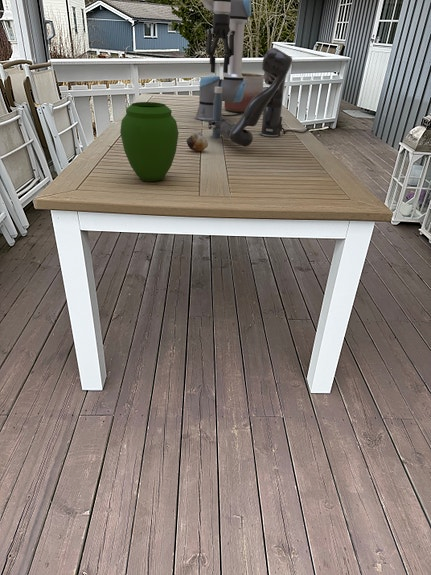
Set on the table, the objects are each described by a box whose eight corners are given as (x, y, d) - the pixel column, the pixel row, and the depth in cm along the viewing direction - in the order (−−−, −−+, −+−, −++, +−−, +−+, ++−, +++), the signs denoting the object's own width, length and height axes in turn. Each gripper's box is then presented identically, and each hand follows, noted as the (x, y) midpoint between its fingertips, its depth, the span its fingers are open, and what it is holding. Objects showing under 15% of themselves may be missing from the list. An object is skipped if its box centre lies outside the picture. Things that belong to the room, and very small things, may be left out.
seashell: (207, 149, 185) (207, 131, 181) (208, 152, 180) (209, 134, 176) (186, 149, 184) (186, 130, 179) (187, 152, 179) (187, 133, 175)
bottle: (212, 137, 207) (214, 88, 195) (212, 136, 210) (214, 87, 198) (220, 138, 207) (222, 88, 195) (220, 136, 210) (222, 87, 198)
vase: (131, 189, 135) (125, 110, 122) (118, 172, 150) (112, 100, 137) (186, 184, 142) (187, 109, 129) (169, 168, 157) (167, 99, 144)
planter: (265, 114, 273) (268, 77, 261) (227, 113, 269) (230, 75, 257) (255, 107, 294) (258, 73, 282) (221, 107, 290) (222, 72, 278)
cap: (214, 92, 196) (214, 87, 195) (214, 92, 199) (214, 86, 198) (222, 93, 196) (222, 87, 195) (222, 92, 199) (222, 86, 198)
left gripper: (236, 15, 187) (232, 71, 199) (198, 12, 179) (197, 71, 192) (244, 15, 182) (240, 73, 194) (206, 12, 174) (204, 73, 186)
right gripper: (241, 120, 194) (228, 113, 207) (213, 120, 189) (201, 114, 203) (240, 136, 198) (227, 129, 211) (212, 137, 193) (201, 130, 207)
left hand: (219, 72), depth 193 cm, fingers open, 6 cm apart
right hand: (215, 121), depth 207 cm, fingers closed on bottle, 4 cm apart
